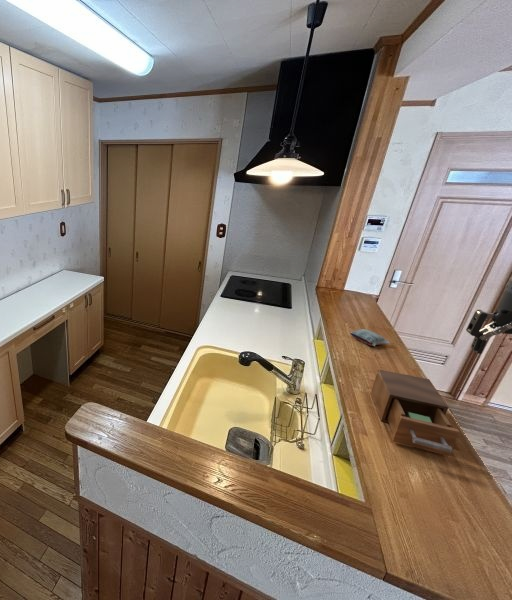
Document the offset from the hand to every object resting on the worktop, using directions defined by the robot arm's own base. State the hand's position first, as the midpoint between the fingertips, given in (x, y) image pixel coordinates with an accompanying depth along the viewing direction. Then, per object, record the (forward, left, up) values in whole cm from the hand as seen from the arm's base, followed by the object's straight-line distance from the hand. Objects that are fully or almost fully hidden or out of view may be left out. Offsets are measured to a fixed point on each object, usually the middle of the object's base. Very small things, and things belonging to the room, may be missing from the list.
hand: (501, 356), depth 76 cm
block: (+8, +6, -26) cm, 28 cm away
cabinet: (+14, -4, -28) cm, 32 cm away
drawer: (+7, +7, -27) cm, 29 cm away
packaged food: (+41, -48, -28) cm, 69 cm away
